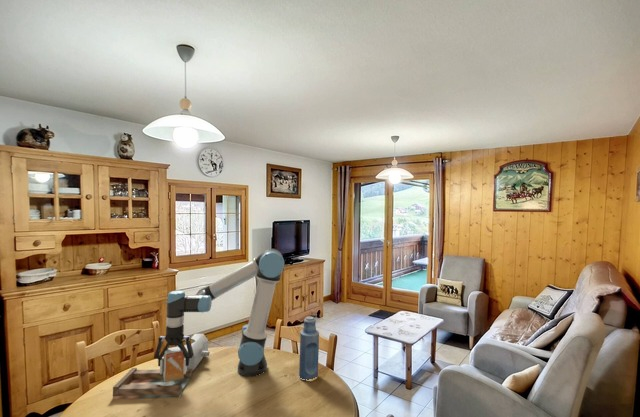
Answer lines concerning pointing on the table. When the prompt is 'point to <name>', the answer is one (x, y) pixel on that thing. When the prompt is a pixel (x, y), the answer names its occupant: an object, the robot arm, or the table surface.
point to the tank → (198, 350)
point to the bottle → (309, 349)
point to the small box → (173, 364)
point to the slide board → (149, 385)
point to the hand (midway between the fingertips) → (173, 372)
